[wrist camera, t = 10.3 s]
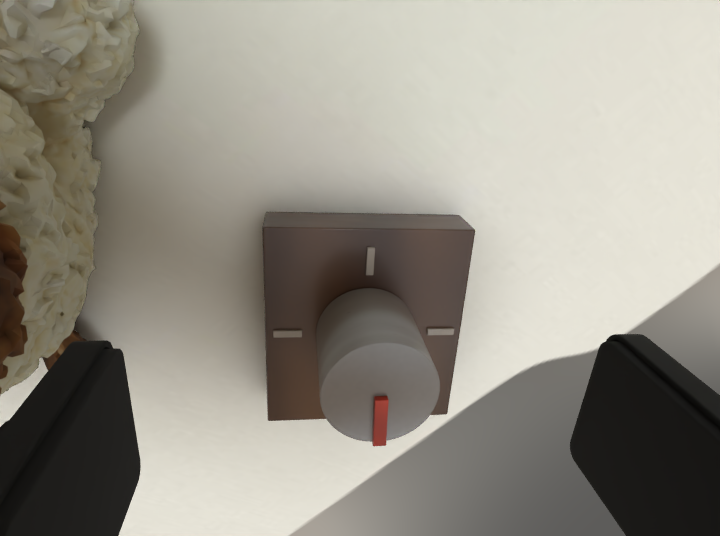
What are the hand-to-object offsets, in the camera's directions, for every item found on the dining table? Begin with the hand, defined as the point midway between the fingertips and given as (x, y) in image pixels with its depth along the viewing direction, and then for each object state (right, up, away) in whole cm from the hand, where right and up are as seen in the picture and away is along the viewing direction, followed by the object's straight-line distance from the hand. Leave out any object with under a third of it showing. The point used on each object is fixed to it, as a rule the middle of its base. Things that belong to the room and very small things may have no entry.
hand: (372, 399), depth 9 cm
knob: (0, -1, +15) cm, 15 cm away
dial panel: (0, 0, +17) cm, 17 cm away
